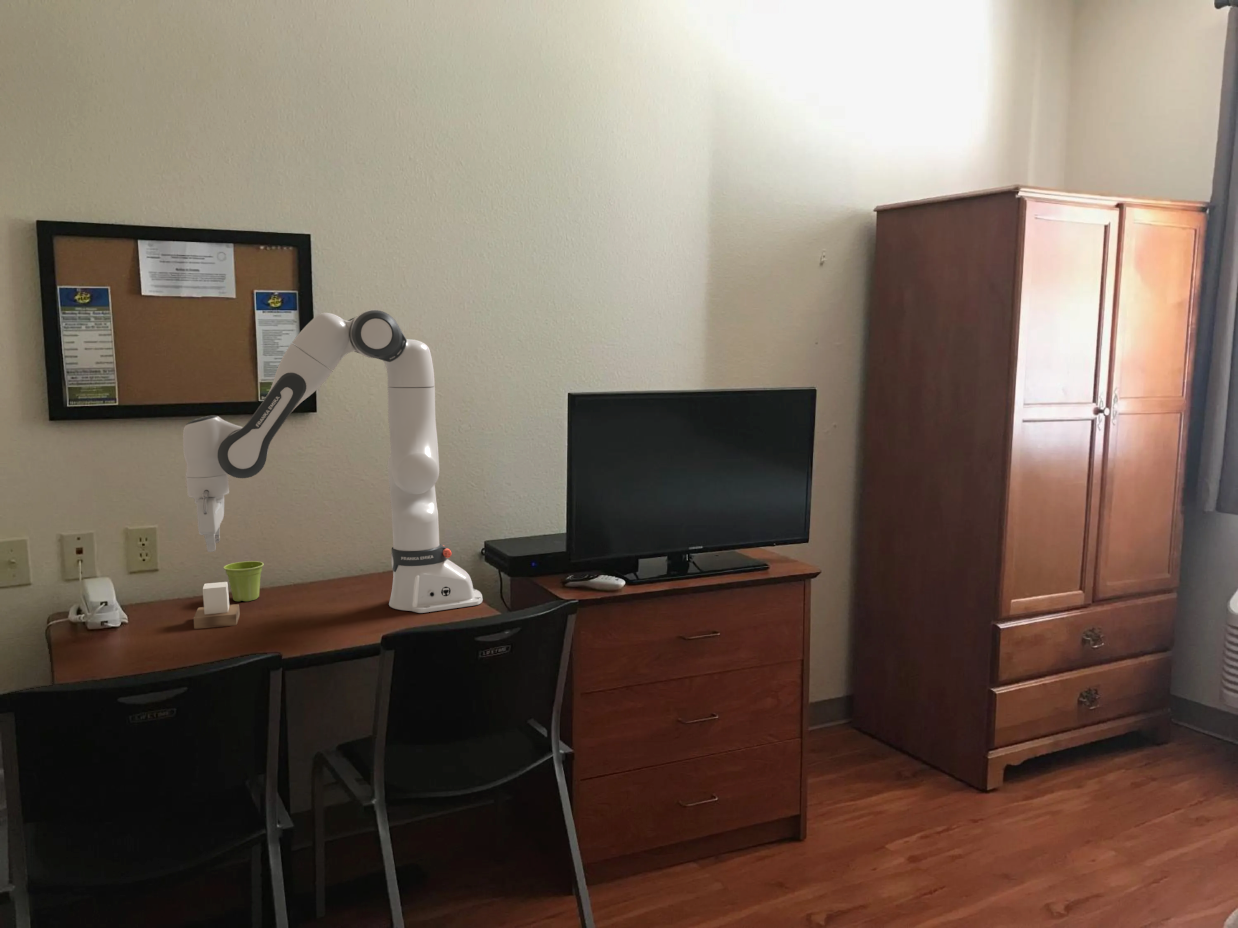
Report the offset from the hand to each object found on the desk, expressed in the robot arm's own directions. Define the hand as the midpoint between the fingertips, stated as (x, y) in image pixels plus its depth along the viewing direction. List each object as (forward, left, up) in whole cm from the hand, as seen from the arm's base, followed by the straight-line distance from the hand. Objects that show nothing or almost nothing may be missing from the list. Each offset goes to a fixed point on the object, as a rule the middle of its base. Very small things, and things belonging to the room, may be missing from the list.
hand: (213, 546), depth 233 cm
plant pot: (-5, -19, -18) cm, 26 cm away
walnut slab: (0, 0, -18) cm, 18 cm away
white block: (0, 0, -15) cm, 15 cm away
